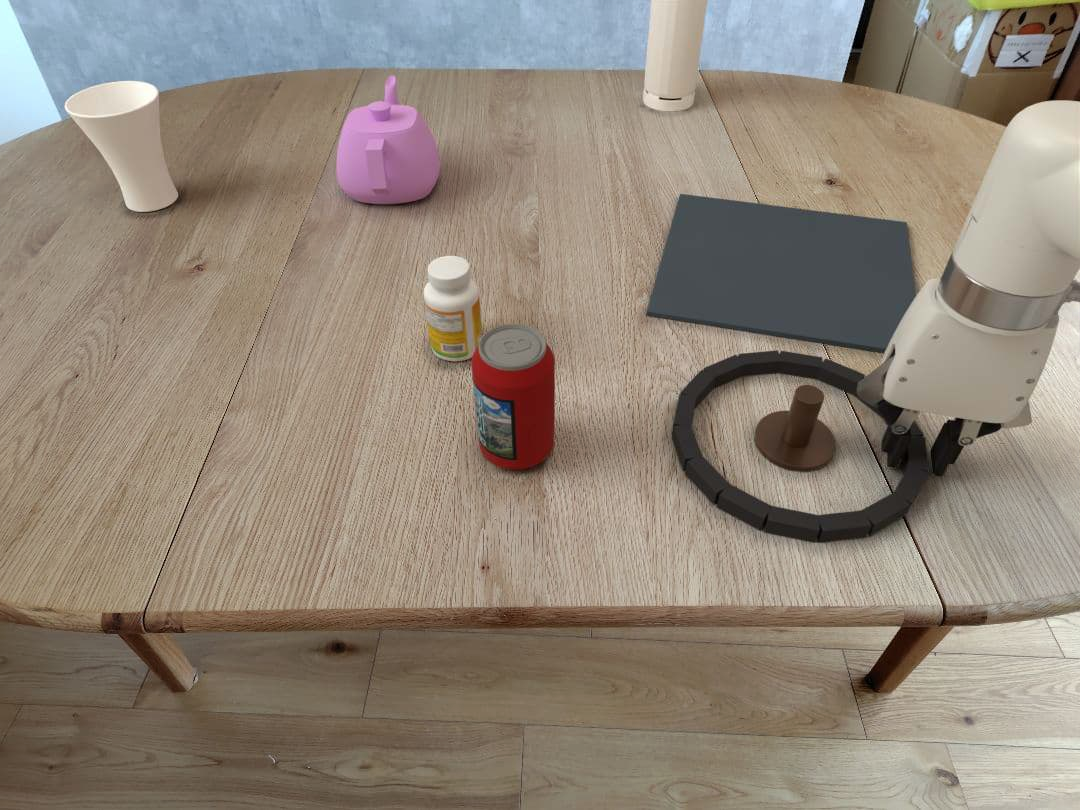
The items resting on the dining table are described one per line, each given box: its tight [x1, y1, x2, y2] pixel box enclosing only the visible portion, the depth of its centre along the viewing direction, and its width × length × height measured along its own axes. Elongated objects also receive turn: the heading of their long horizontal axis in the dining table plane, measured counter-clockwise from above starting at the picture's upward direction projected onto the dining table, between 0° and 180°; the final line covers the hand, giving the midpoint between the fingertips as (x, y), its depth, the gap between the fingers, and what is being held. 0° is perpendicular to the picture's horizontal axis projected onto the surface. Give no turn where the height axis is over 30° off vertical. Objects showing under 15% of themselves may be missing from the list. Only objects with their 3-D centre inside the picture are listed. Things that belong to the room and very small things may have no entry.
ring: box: [671, 349, 930, 543], centre depth 69 cm, size 22×22×2 cm
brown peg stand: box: [754, 384, 837, 473], centre depth 67 cm, size 7×7×6 cm
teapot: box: [336, 75, 441, 205], centre depth 100 cm, size 13×20×11 cm
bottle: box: [642, 0, 708, 112], centre depth 113 cm, size 8×8×28 cm
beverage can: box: [471, 323, 556, 470], centre depth 65 cm, size 7×7×12 cm
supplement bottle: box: [423, 255, 484, 362], centre depth 76 cm, size 5×5×10 cm
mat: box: [645, 193, 917, 354], centre depth 89 cm, size 28×26×1 cm
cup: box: [64, 80, 179, 213], centre depth 96 cm, size 10×10×14 cm
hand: (913, 459), depth 67 cm, fingers open, 3 cm apart
